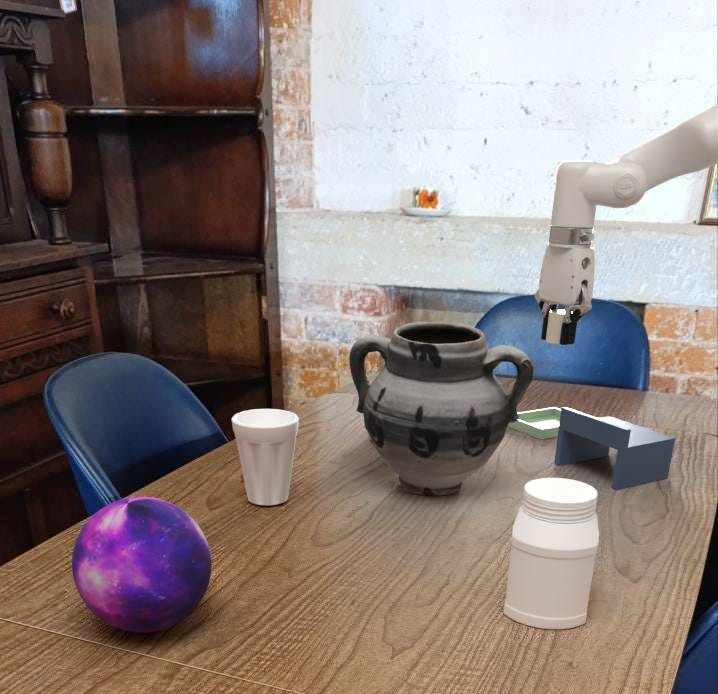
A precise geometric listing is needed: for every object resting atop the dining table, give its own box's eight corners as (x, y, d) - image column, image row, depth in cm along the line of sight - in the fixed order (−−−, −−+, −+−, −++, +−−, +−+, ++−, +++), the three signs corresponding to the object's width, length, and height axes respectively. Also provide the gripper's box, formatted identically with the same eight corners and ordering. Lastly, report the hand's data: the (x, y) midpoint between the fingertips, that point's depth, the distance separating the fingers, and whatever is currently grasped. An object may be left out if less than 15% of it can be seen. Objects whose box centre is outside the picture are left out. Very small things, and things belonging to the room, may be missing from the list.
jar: (508, 581, 112) (521, 469, 105) (585, 590, 110) (603, 477, 103) (501, 624, 102) (514, 503, 95) (585, 634, 100) (605, 512, 93)
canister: (558, 338, 168) (561, 309, 166) (574, 343, 165) (578, 312, 163) (540, 340, 166) (544, 310, 164) (556, 345, 163) (560, 314, 161)
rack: (603, 453, 160) (612, 399, 155) (667, 478, 148) (679, 420, 144) (554, 463, 154) (561, 407, 149) (616, 490, 143) (626, 430, 138)
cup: (300, 512, 132) (299, 426, 126) (233, 512, 131) (229, 427, 125) (300, 488, 141) (298, 408, 134) (237, 489, 140) (233, 408, 134)
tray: (553, 416, 181) (554, 406, 180) (591, 430, 173) (593, 420, 172) (503, 424, 175) (504, 415, 174) (540, 439, 166) (542, 429, 166)
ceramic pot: (530, 475, 148) (548, 322, 136) (506, 524, 129) (525, 351, 117) (369, 455, 156) (372, 309, 144) (324, 498, 137) (323, 334, 125)
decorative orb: (62, 614, 102) (43, 493, 95) (181, 583, 110) (171, 469, 103) (110, 672, 91) (92, 540, 84) (238, 633, 99) (231, 509, 92)
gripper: (620, 241, 153) (604, 348, 161) (554, 232, 165) (542, 332, 174) (588, 242, 149) (573, 352, 158) (523, 233, 162) (513, 335, 170)
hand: (557, 340), depth 166 cm, fingers closed on canister, 4 cm apart
